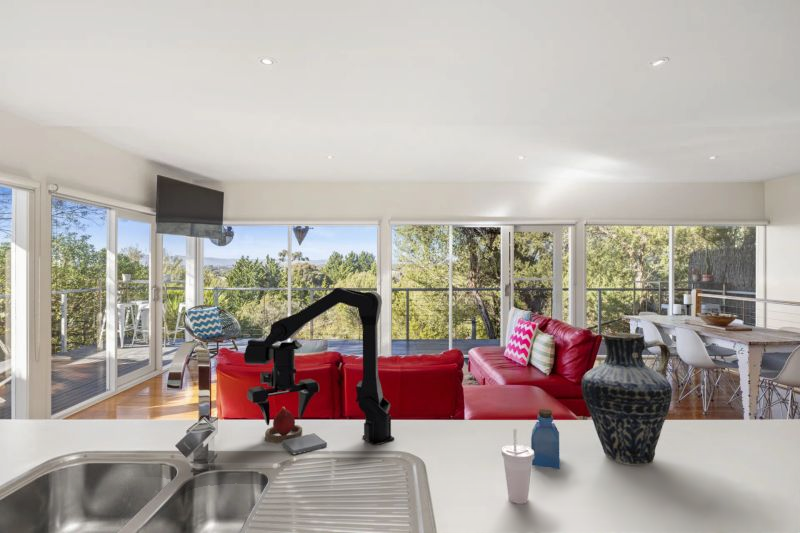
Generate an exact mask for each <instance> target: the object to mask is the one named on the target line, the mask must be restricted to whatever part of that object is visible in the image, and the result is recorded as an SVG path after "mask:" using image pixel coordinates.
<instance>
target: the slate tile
mask: <svg viewBox="0 0 800 533" xmlns="http://www.w3.org/2000/svg"><path fill="white" fill-rule="evenodd" d="M282 446H284V447H285V448H286V449H287V450H288V451H289V452H290V451H291V452H292V453H291V452H290V453H291V454H293V453H298V454H300V453H299V452H302V453H305V452H304V451H306V452H309V450H310V451H314V450H317V449H323V448H325V447H328V442H327V441H325V440H324V439H323V438H321V437H320V436H319V435H317V434H315V433H310V434H306V435H302V436H300V437H296V438H291V439H287V440H283V441H282Z"/></svg>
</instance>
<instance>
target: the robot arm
mask: <svg viewBox="0 0 800 533" xmlns="http://www.w3.org/2000/svg"><path fill="white" fill-rule="evenodd" d="M340 303H341V304H343V305H347V306H349V307H352V308H357V311H358V316H359V318H360V319H359V320H360V322H361V326H362V380H360V381H358V383H357V385H356V386H355V391H356V399H355V403H357V404H358V408H359V409H360V411H362V413H364V415H365V416H364V417H365V421H364V423H363V435H362V438H363V440H365V441H367V442H369V443H370V444H372V445H379V444H383V443H387V442H391V441H394V440H395V437H394V436H392V415H391V414H389V411H390V407H391V403H390V402H389V401H388V400H387V399H386V398H385V397H384V396H383V395H384V394H383V389H382V384H381V382H380V378H379V362H378V361H379V360H378V357H379V351H378V344H379V342H378V339H379V338H378V337H379V336H378V324H379V319H380V314H381V311H382V310H381V309H382V304H383V300H382V296H381V295H380V294H379V293H378V292H376V291H374V290H373V291H372V290H371V291H366V292H363V291H358V290H353V289H349V288H345V287H343V286H342V287H341V286H340V287H335V288H334V289H333V290H332V291H330V292H329V293H327V294H325V295H324V296H323V297H321V298H320V299H317V300H316V301H314V302H313V303H311V304H310V305H307V307H305V308H304V309H302V310H300V311H299V312H296V313H294V314H292V315H289V316H286V317H283V318H281V319H279V320H277V321H274V322H273V323H272V324H271V327H270V331H269V334H268V335H267V336H266V338H264V339H255V338H253V339H252V338H251V339H248V340H247V344H246V347H245V350H244V354H243V359H244V363H245V364H246V365H266V366H267V365H269V364H270V362H272V361H273V362H272V365H273V367H271V373H269V371H268V370H267V371H261V372H260V378H259V380H260V384H262V385H263V384H267V385H266V386H267V387H270V388H265V387H264V386H262V385H261V386H255V387H249V388H248V390H247V391H246V398H247V400H248V401H250V402H251V403H253V404H255V405H257V406H258V407H259V408H260V411H261V412H262V416H263V419H264V421H265V425H266V426H269V425H270V422H271V421H270V420H271V418H270V414H271V413H270V401H269V400H268V399H269V397H272V396H278V395H284V394H291V393H298V409H297V410H298V413H297V414H298V419H300V420H302V418H303V416H304V413H305V411H306V409H307V406H308V405H309V403H310V401H311V399H312V398H313V397H315V396H316V393H319V392H320V383H319V382H318V381H316V380H314V379H312V378H307V379H301V380H299V381H298V384H297V383H295V380H296V379H295V378H296V377H295V376H296V373H297V369H296V366H295V365H296V364H295V363H296V361H295V360H296V358H295V352H296V351H295V350H299V349H302V347H303V345H302V344H301V343H300V342H299V341H298V340H297V339H293V340H292V341H289V342H287V340H290V339H291V338H294V337H295V336H296V335H297V334H298V333H299V332H300V331H302V329H303V328H305V326H307V325H308V323H310V322H311V321H313V320H315V319H317V318H318V317H319V316H321V315H322V314H324V313H326V312H327V311H329V310H331V309H332V308H334V307H336V306H337V305H339V304H340ZM285 341H286V342H285ZM279 342H280V344H277V343H279ZM276 344H277V345H276Z"/></svg>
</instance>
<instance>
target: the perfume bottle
mask: <svg viewBox="0 0 800 533" xmlns="http://www.w3.org/2000/svg"><path fill="white" fill-rule="evenodd" d="M552 414H553V411H552V410H551V409H547V408H542V409H538V414H537V421H536V423H535V424H534V427H533V428H532V431H531V436H530V443H531V444H530V448H531V449H532V450H533V451H534V459H533V460H532V467H533V466H535V467H543V468H550V469H557V470H560V432H559V430H558V428H557V426H556V424H555V423H554V416H553V415H552Z"/></svg>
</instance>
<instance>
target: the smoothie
mask: <svg viewBox="0 0 800 533" xmlns="http://www.w3.org/2000/svg"><path fill="white" fill-rule="evenodd" d="M501 456H502V457H503V464H504V465H503V466H504V472H505V473H504V474H505V480H506V490H507V496H508V500H509V501H510V502H511V503H514V504H519V505H523V504H526V503H527V502H528V501H529V500H528V499H529V491H530V483H531V475H532V469H533V468H532V467H533V465H532V460H533V459H534V451H533V450H532V449H531V447H530V446H526V445H522V444H517V428H516V427H514V428H513V444H507V445H504V446H502V448H501Z"/></svg>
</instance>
